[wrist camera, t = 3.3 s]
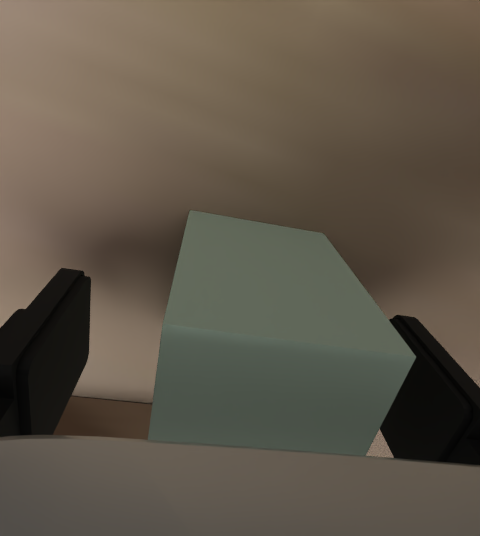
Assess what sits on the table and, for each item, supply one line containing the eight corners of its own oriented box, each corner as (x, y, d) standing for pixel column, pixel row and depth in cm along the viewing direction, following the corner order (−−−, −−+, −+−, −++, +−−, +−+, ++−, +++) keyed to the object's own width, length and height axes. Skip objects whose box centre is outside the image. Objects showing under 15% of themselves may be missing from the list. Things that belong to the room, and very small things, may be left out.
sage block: (323, 233, 13) (416, 357, 7) (289, 340, 16) (337, 508, 9) (189, 209, 13) (162, 323, 6) (173, 325, 15) (140, 495, 9)
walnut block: (172, 406, 17) (159, 491, 13) (149, 549, 22) (135, 639, 18) (-114, 377, 15) (-218, 466, 12) (-68, 539, 20) (-129, 635, 17)
